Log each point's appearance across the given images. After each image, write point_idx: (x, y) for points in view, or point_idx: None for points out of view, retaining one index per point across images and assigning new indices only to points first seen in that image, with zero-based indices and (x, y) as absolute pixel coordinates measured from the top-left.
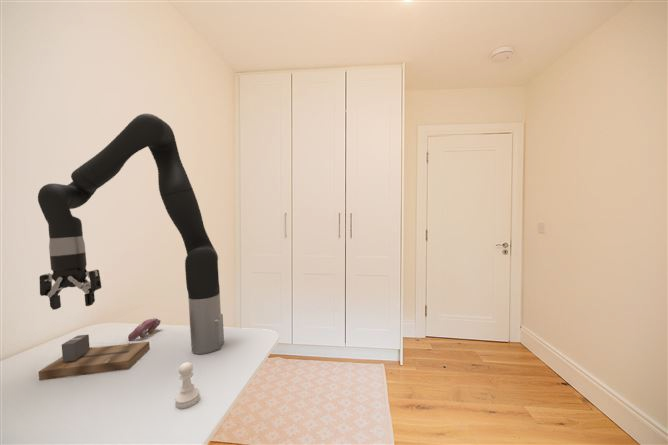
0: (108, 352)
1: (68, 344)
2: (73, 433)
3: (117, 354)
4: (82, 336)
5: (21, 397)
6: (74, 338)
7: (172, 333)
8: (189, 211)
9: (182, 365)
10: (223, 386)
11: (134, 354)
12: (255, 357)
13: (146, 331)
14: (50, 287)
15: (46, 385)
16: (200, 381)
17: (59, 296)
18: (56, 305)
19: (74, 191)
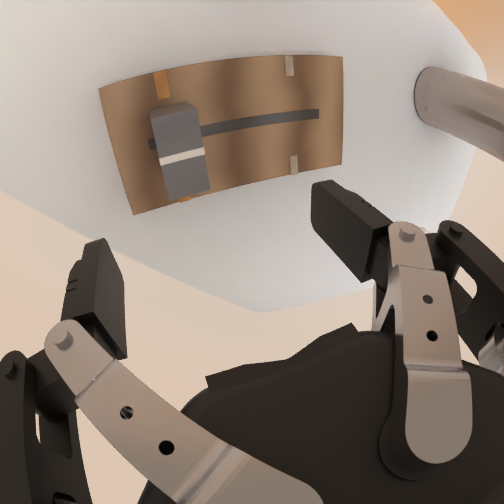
0: (259, 109)
1: (192, 193)
2: (329, 292)
3: (297, 127)
4: (186, 128)
5: (170, 256)
6: (166, 147)
7: None
8: None
9: None
10: (441, 213)
11: (341, 134)
12: (469, 153)
13: None
14: (33, 418)
15: (179, 218)
16: (426, 203)
17: (99, 307)
18: (118, 285)
19: None
